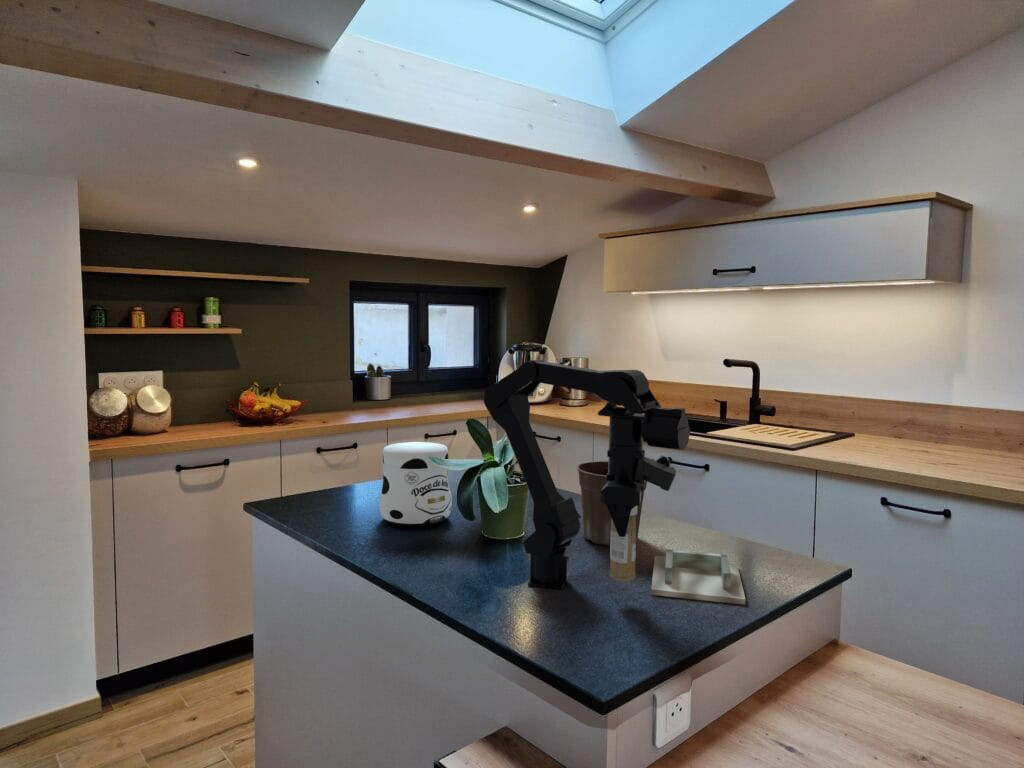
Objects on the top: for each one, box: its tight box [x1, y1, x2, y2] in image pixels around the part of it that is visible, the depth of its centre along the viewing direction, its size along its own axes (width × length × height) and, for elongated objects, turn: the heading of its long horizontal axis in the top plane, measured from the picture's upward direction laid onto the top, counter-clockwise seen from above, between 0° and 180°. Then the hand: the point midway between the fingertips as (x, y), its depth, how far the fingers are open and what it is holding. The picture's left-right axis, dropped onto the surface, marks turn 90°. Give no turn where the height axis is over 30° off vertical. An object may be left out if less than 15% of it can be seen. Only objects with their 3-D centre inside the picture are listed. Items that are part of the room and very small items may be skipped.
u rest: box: [650, 548, 746, 606], centre depth 128 cm, size 16×18×4 cm
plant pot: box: [576, 460, 648, 547], centre depth 152 cm, size 16×16×16 cm
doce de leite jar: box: [378, 441, 453, 528], centre depth 163 cm, size 17×17×18 cm
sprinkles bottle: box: [609, 506, 637, 582], centre depth 118 cm, size 5×5×13 cm
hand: (623, 532), depth 118 cm, fingers closed on sprinkles bottle, 4 cm apart
